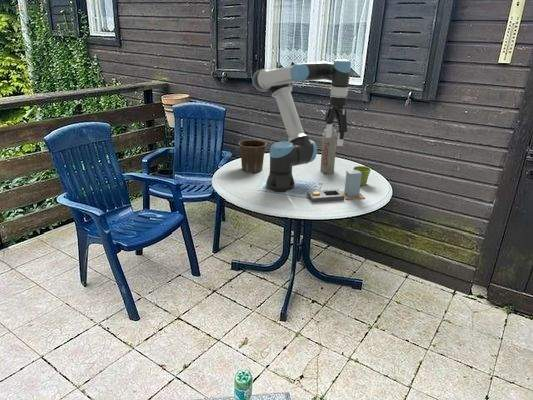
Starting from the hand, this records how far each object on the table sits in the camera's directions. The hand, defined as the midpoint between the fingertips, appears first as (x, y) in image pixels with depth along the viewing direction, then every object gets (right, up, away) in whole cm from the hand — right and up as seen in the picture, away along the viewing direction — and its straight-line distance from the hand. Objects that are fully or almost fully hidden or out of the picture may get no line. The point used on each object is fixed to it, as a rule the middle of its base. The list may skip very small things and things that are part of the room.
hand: (333, 141), depth 187 cm
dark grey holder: (-3, -27, +7) cm, 29 cm away
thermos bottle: (+4, -11, +46) cm, 48 cm away
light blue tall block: (+11, -25, +10) cm, 29 cm away
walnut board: (+11, -26, +10) cm, 30 cm away
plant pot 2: (+19, -19, +28) cm, 39 cm away
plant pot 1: (-40, -10, +47) cm, 63 cm away
